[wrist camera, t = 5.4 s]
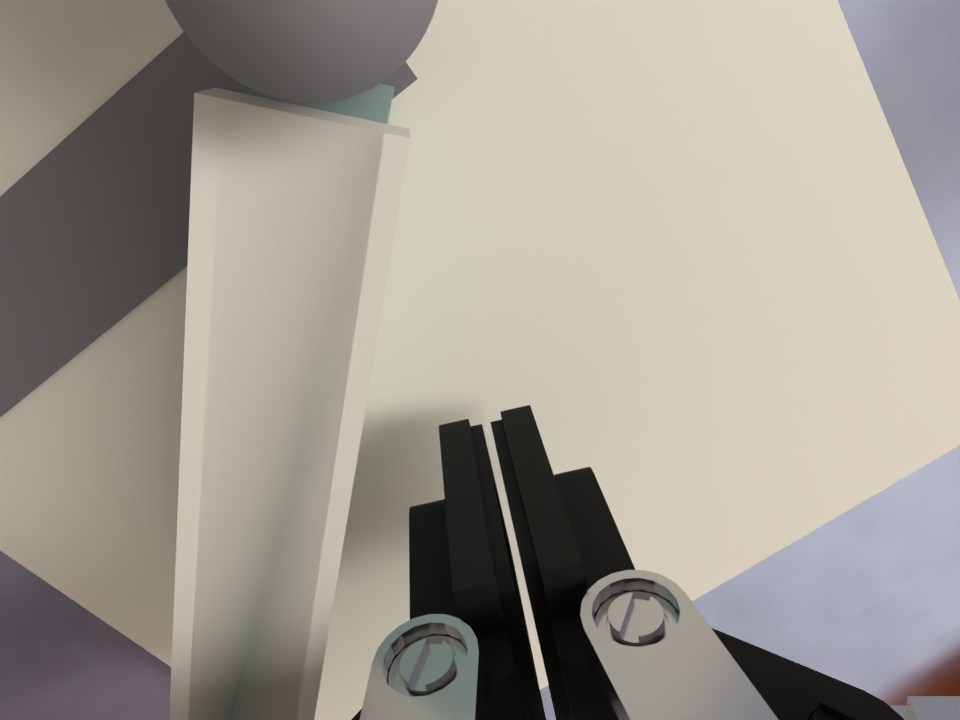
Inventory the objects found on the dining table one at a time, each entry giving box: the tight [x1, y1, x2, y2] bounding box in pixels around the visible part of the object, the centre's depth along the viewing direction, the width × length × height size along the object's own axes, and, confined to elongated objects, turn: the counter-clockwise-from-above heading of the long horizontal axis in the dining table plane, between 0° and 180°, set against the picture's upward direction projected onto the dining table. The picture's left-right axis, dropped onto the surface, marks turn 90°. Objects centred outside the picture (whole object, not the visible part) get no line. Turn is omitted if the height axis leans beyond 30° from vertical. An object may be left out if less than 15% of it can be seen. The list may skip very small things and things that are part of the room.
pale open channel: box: [169, 84, 410, 720], centre depth 10 cm, size 2×11×6 cm, turn 168°
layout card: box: [0, 0, 960, 720], centre depth 10 cm, size 18×29×1 cm, turn 36°
